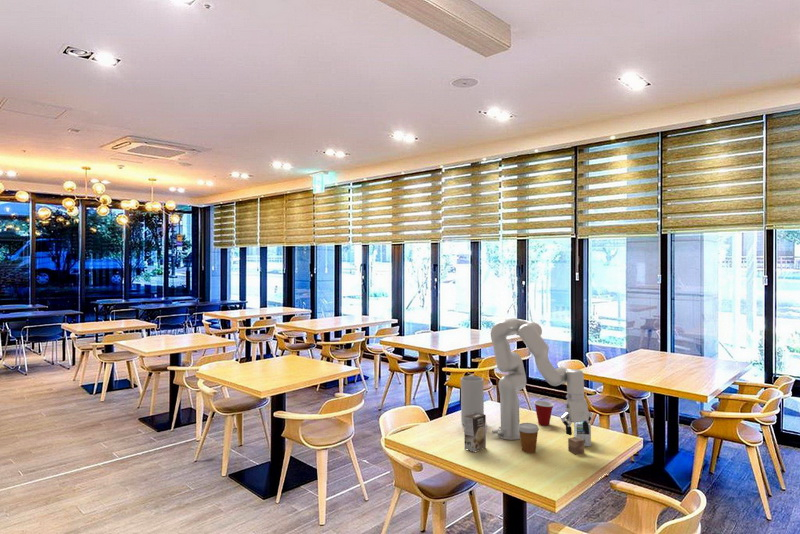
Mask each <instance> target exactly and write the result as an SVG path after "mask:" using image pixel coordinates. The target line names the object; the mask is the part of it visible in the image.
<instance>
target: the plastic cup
mask: <svg viewBox="0 0 800 534" xmlns="http://www.w3.org/2000/svg"><path fill="white" fill-rule="evenodd" d="M533 403H534V406H535V407H534V408H535V412H536V418H537V423H538V425H540V426H543V427H545V426H546V427H547V426H550V423H551V417H552V411H553V408H554V406H555V404H554V403H553V402H550V401H547V400H546V401H545V400H535V401H533Z"/></svg>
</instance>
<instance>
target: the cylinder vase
mask: <svg viewBox="0 0 800 534" xmlns="http://www.w3.org/2000/svg"><path fill="white" fill-rule="evenodd" d="M484 394H485V393H484V377H481V376H471V375H470V376H462V377H460V410H461V412H460V413H461V414H460V417H461V418H460V419H461V421H460V422H461V424H462V425H464V416H466V415H469V414H473V413H480V414H484V415H485V413H484V411H485V410H484V409H485V404H484V403H485V402H484V401H485V400H484V398H485V397H484Z"/></svg>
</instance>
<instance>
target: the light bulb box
mask: <svg viewBox="0 0 800 534" xmlns="http://www.w3.org/2000/svg"><path fill="white" fill-rule="evenodd" d="M583 422H584V421H582V422H576V423H573V433H574V434H573V435H574V436H573V437H578V438H580V439H582V440H584V447H592V427H591V426H592V424H591V423H589V432H585V431H583Z"/></svg>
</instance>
